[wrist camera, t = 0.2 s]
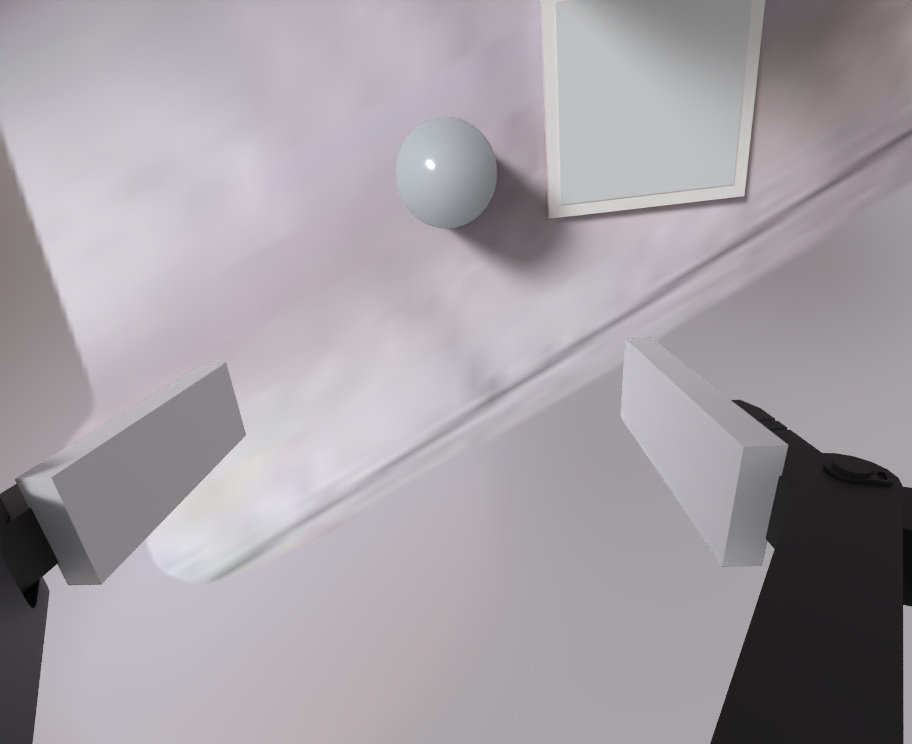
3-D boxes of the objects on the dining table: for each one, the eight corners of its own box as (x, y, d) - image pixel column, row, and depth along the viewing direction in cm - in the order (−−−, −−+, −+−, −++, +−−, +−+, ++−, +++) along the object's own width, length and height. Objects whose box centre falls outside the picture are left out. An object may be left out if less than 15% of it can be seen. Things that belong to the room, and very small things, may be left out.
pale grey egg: (404, 139, 37) (387, 124, 30) (488, 128, 37) (492, 110, 29) (417, 227, 40) (403, 233, 32) (495, 218, 39) (501, 222, 32)
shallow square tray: (539, -8, 33) (541, -13, 32) (763, -42, 32) (771, -49, 31) (548, 218, 39) (549, 218, 38) (739, 196, 38) (745, 196, 37)
